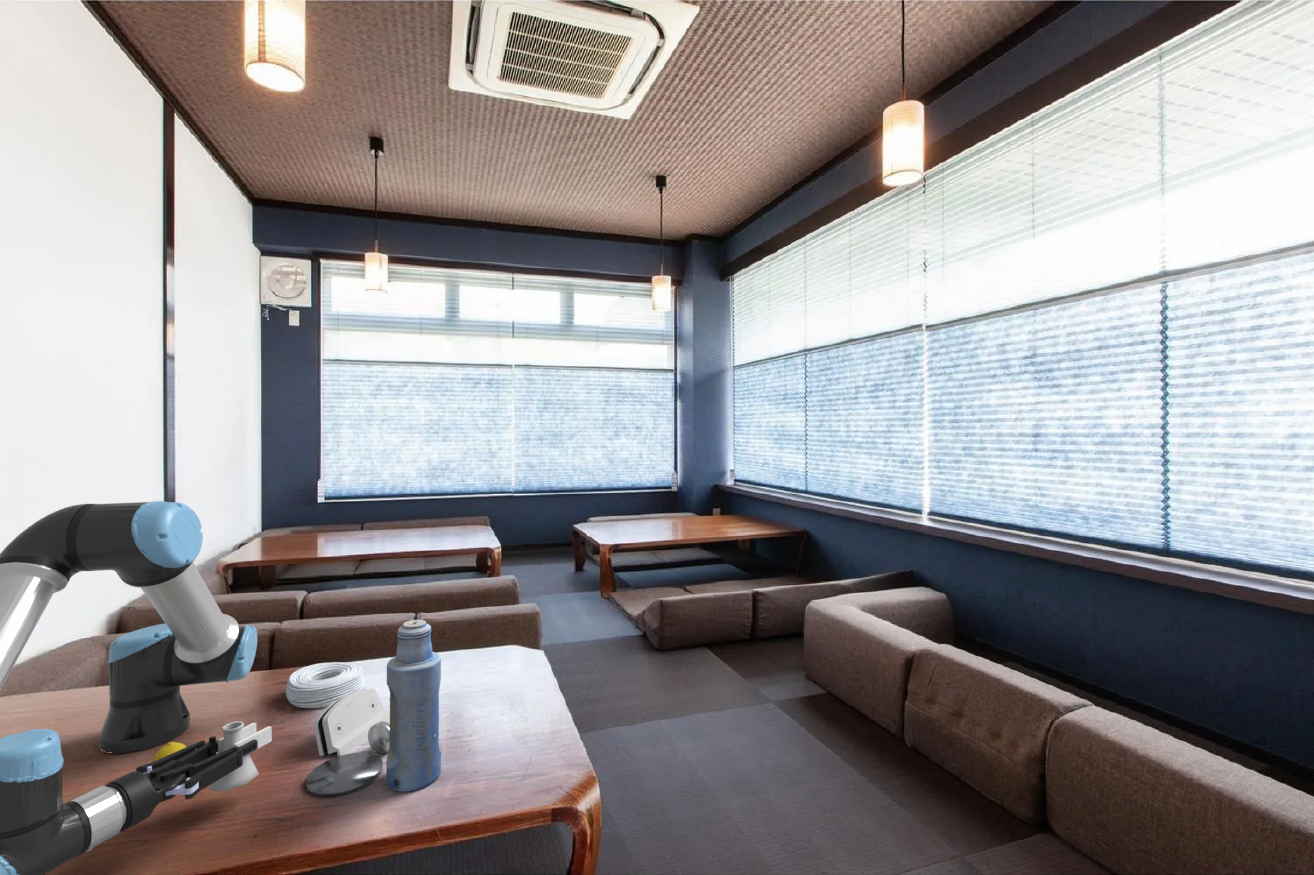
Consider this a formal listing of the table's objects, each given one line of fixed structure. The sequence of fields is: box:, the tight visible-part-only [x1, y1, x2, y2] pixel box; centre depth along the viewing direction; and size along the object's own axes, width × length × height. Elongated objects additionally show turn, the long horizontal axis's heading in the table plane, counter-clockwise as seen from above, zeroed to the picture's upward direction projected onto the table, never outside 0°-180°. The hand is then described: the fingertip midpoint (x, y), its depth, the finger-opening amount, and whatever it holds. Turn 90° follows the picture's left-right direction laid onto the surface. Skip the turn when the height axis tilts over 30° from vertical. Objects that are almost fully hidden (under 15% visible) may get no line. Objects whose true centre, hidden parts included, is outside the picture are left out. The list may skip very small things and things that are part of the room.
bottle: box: [385, 619, 442, 792], centre depth 113 cm, size 10×10×30 cm
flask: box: [208, 720, 260, 792], centre depth 105 cm, size 7×7×10 cm
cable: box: [284, 661, 366, 709], centre depth 149 cm, size 18×18×6 cm
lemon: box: [152, 741, 187, 762], centre depth 111 cm, size 6×6×8 cm
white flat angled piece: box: [313, 688, 390, 757], centre depth 129 cm, size 17×5×10 cm, turn 168°
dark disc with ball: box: [306, 721, 390, 798], centre depth 120 cm, size 13×26×6 cm, turn 160°
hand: (262, 731), depth 111 cm, fingers closed on flask, 3 cm apart
